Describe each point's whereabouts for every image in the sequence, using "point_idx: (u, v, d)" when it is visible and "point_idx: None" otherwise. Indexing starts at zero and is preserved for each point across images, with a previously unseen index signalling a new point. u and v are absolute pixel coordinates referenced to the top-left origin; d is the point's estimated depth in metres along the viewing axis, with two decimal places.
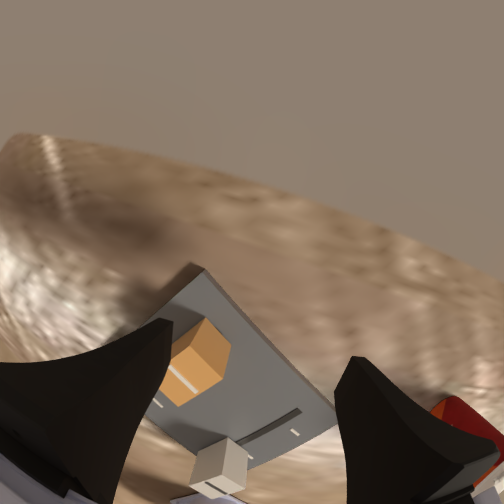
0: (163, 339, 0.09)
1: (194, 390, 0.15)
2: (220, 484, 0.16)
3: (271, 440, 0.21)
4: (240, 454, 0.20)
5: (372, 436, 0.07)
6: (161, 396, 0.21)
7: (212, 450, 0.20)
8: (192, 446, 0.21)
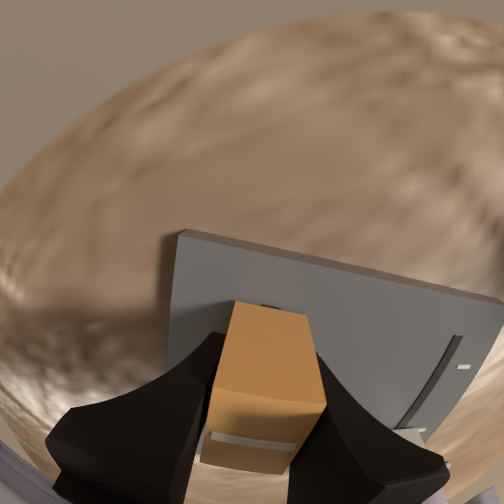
0: None
1: (287, 448, 0.06)
2: None
3: (439, 396, 0.12)
4: (410, 440, 0.11)
5: (309, 435, 0.07)
6: None
7: None
8: None
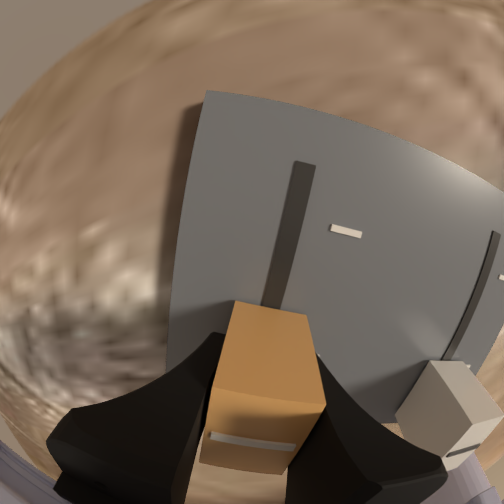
0: None
1: (287, 448, 0.06)
2: (470, 439, 0.07)
3: (484, 317, 0.10)
4: (460, 371, 0.10)
5: None
6: None
7: (419, 398, 0.10)
8: (382, 414, 0.12)
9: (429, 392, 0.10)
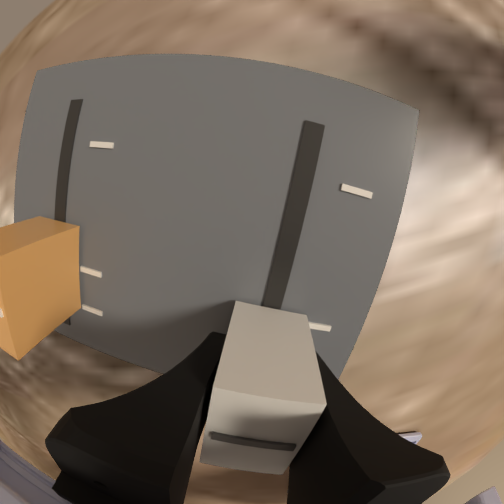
0: None
1: None
2: (248, 423, 0.06)
3: (329, 249, 0.10)
4: (282, 323, 0.09)
5: (309, 435, 0.07)
6: (87, 291, 0.11)
7: None
8: None
9: None
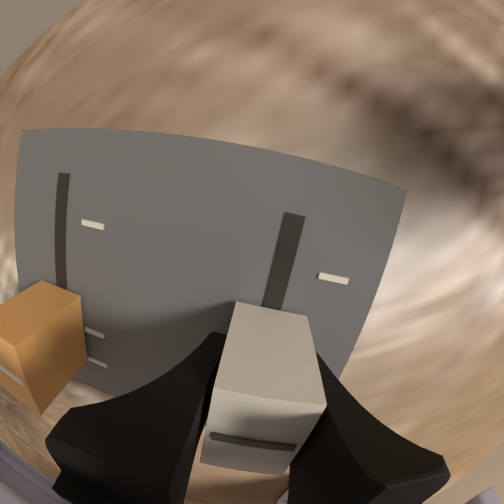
0: None
1: (19, 381, 0.07)
2: (248, 424, 0.06)
3: None
4: (283, 324, 0.09)
5: (310, 435, 0.07)
6: (92, 347, 0.12)
7: None
8: None
9: None
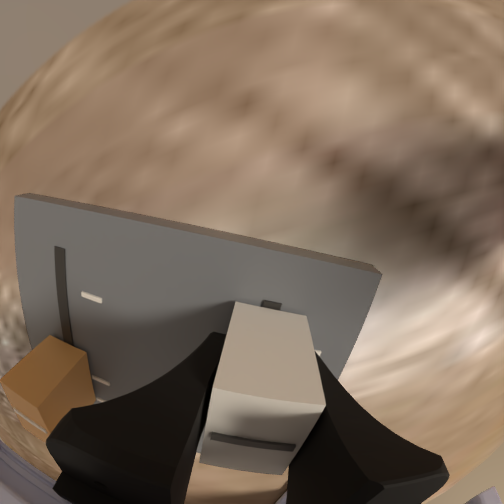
0: None
1: (42, 430, 0.08)
2: (247, 424, 0.06)
3: None
4: (282, 324, 0.09)
5: (308, 435, 0.07)
6: (99, 390, 0.13)
7: None
8: None
9: None
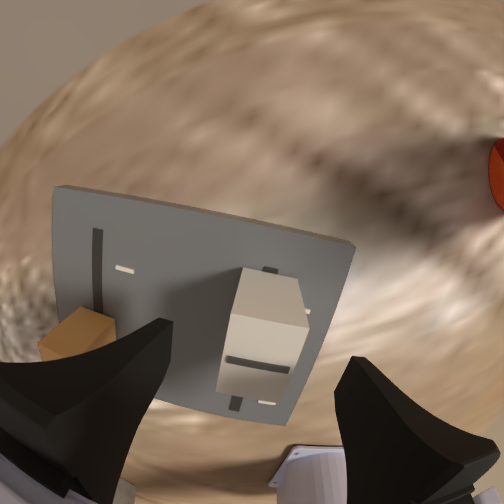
0: (163, 339, 0.09)
1: None
2: (254, 345, 0.10)
3: None
4: (279, 282, 0.13)
5: (372, 436, 0.07)
6: None
7: None
8: (204, 405, 0.17)
9: None
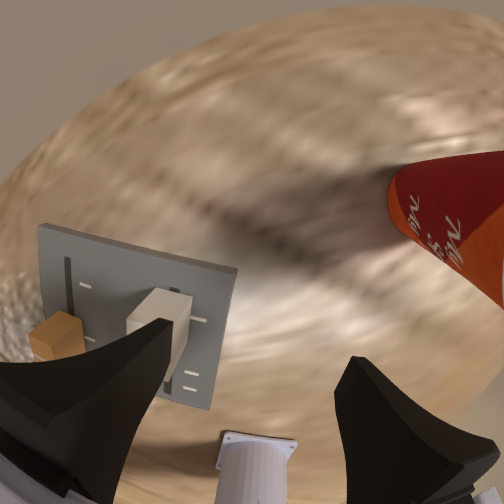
0: (163, 339, 0.09)
1: None
2: None
3: (189, 342, 0.20)
4: (174, 299, 0.18)
5: (372, 436, 0.07)
6: (88, 346, 0.21)
7: None
8: None
9: None
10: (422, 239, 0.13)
